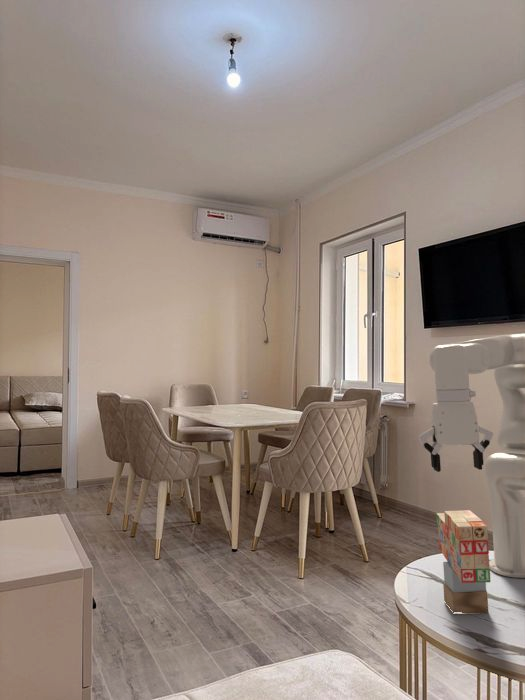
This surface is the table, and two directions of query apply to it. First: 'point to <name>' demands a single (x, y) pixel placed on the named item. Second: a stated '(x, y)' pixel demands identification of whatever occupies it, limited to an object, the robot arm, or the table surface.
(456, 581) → the tower top
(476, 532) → the stack of blocks
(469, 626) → the table surface
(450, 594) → the tower bottom
